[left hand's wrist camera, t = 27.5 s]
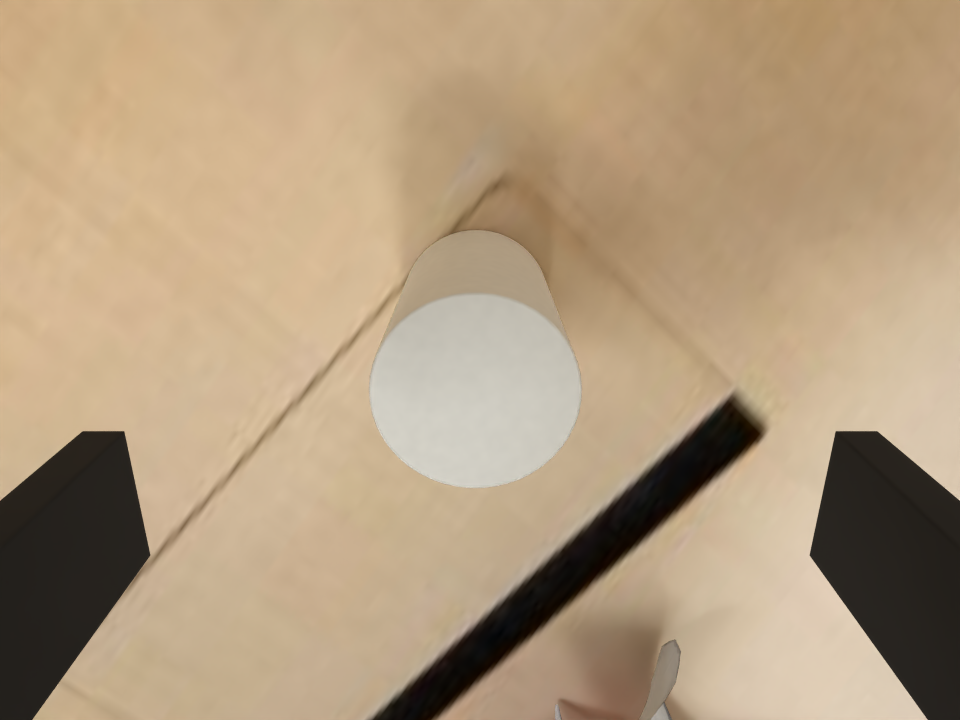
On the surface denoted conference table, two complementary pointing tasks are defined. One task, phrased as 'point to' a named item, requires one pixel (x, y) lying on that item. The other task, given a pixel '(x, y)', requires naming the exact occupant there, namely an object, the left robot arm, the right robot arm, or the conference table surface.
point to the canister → (475, 365)
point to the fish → (658, 684)
